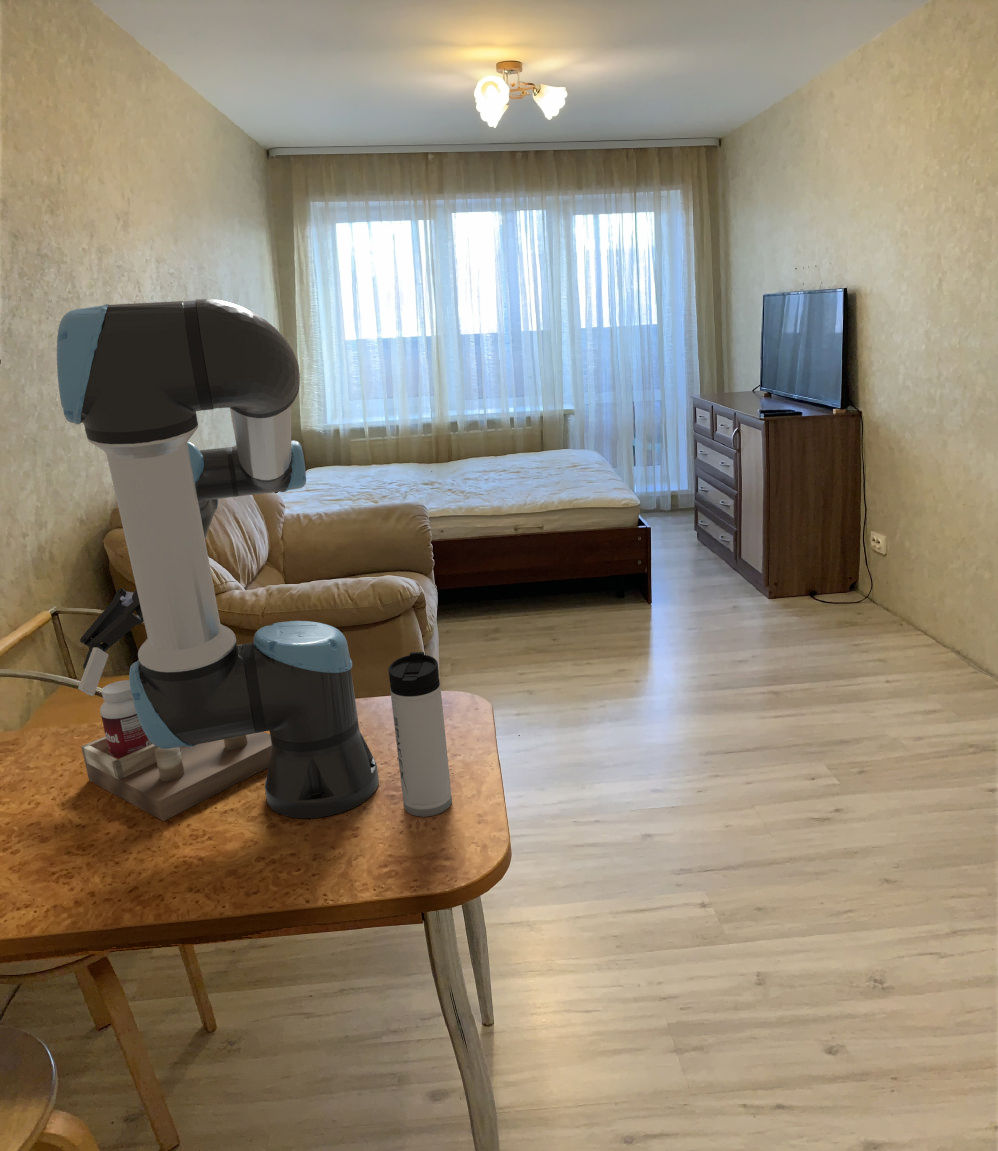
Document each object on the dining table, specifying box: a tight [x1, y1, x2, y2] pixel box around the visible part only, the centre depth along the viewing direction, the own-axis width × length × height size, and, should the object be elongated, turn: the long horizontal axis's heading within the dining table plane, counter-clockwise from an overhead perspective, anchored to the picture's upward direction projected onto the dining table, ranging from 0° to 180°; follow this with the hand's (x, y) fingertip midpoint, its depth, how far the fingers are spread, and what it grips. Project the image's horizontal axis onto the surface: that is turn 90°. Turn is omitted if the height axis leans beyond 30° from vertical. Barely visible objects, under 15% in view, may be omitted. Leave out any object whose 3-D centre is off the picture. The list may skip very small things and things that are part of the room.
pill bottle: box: [99, 679, 152, 759], centre depth 126 cm, size 6×6×11 cm
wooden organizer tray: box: [80, 731, 272, 822], centre depth 128 cm, size 20×20×7 cm
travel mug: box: [388, 651, 453, 818], centre depth 112 cm, size 6×7×20 cm
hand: (125, 694), depth 127 cm, fingers open, 13 cm apart
